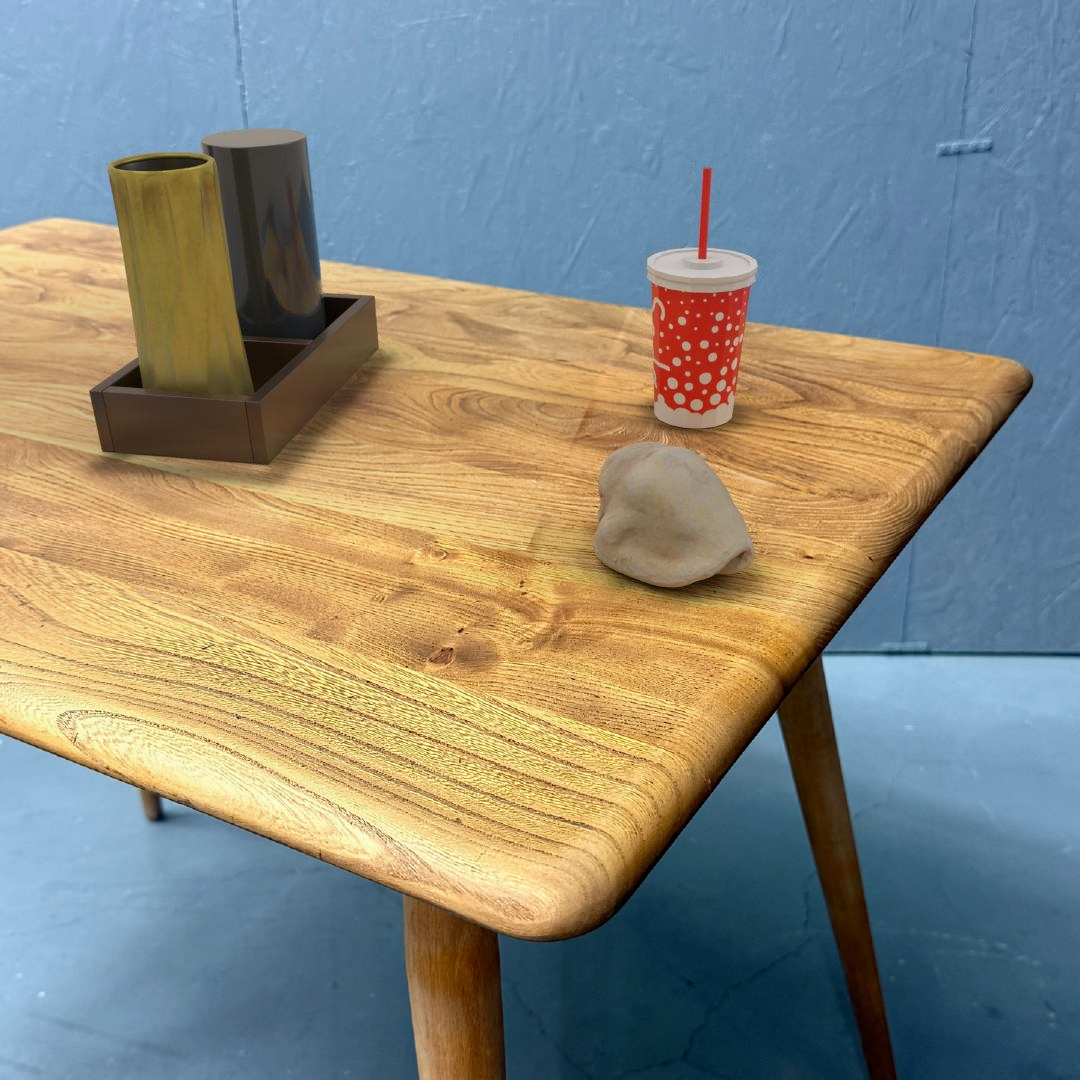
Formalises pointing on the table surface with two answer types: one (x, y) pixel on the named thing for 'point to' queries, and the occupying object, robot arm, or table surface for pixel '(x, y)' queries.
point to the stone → (667, 517)
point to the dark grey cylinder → (270, 231)
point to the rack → (235, 420)
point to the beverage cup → (698, 327)
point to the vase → (179, 273)
